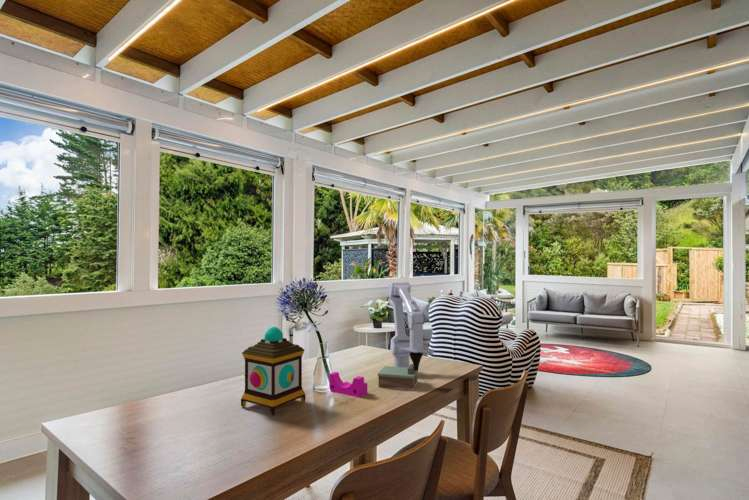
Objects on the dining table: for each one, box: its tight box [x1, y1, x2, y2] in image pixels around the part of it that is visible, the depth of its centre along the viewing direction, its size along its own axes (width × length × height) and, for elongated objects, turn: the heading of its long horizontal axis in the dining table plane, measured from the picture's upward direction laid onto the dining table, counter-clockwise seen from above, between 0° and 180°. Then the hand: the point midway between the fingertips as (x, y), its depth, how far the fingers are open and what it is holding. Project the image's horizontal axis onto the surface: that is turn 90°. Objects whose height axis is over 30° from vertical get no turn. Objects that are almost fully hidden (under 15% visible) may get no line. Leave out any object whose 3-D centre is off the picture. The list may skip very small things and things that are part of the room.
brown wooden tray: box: [378, 372, 418, 391], centre depth 188 cm, size 12×15×5 cm
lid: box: [377, 363, 419, 379], centre depth 188 cm, size 13×16×3 cm
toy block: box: [328, 371, 368, 398], centre depth 178 cm, size 15×6×8 cm, turn 58°
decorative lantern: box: [240, 326, 306, 417], centre depth 163 cm, size 20×20×30 cm
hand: (416, 370), depth 186 cm, fingers closed
